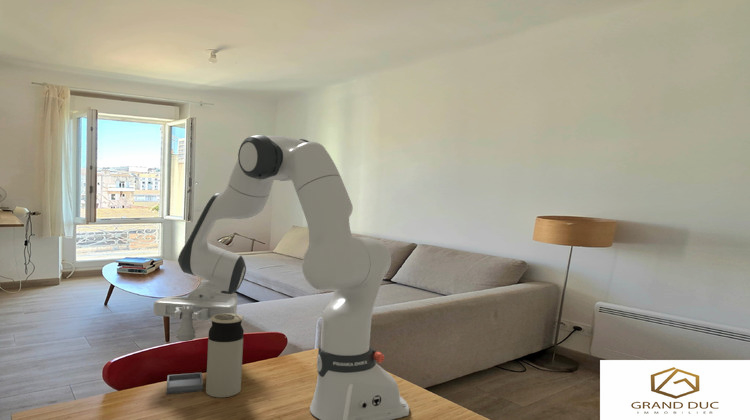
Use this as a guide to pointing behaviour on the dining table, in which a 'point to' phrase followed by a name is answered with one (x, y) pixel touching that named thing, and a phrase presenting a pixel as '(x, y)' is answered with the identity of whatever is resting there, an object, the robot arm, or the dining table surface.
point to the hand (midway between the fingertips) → (185, 316)
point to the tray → (184, 383)
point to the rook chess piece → (186, 324)
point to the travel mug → (224, 355)
